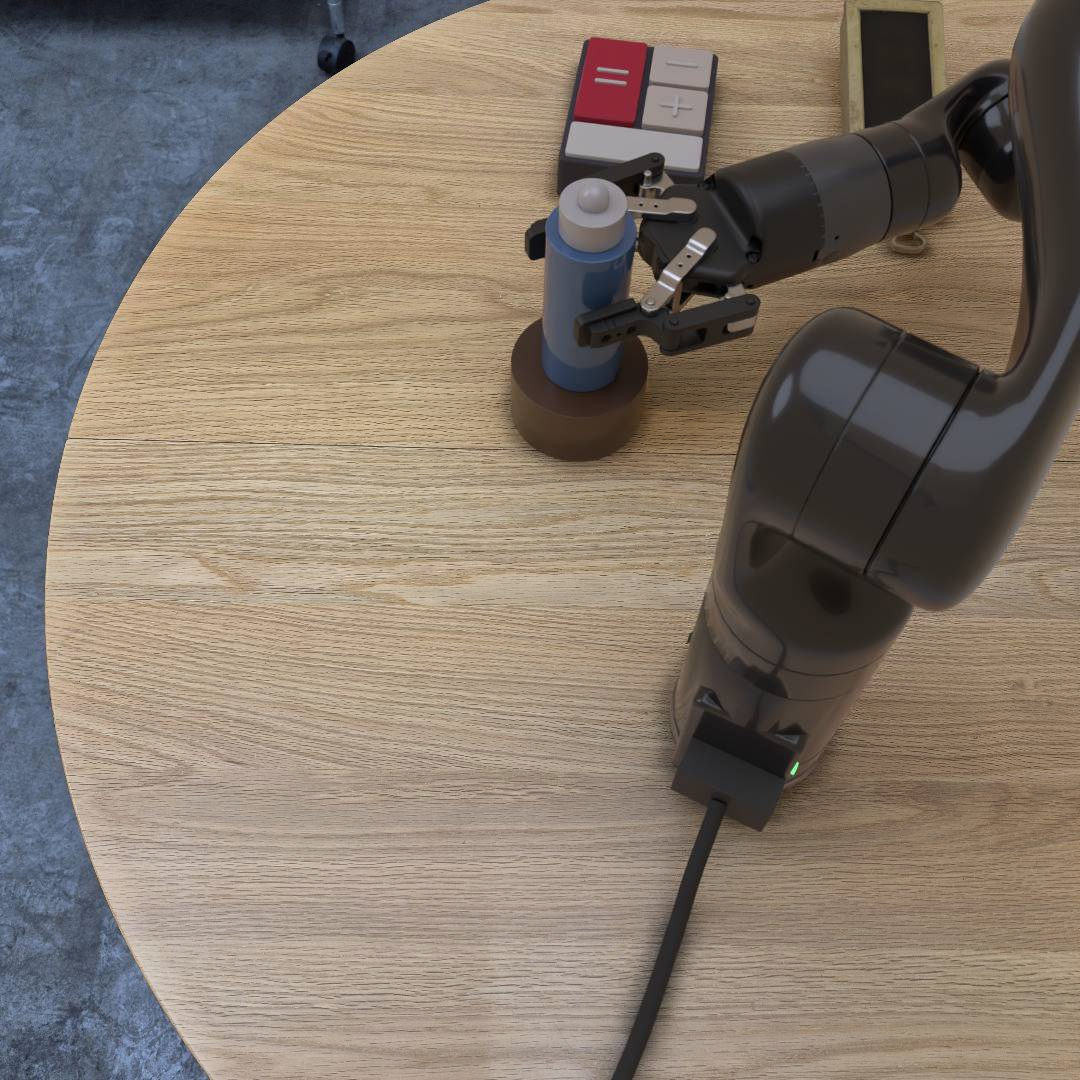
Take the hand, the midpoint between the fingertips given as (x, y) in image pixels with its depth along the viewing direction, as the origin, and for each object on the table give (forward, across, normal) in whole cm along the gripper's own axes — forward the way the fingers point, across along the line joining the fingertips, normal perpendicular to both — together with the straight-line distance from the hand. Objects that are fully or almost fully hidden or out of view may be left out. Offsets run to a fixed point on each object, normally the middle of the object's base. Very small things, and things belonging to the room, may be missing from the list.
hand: (551, 288), depth 71 cm
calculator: (-18, -22, +13) cm, 31 cm away
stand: (-2, 0, +13) cm, 13 cm away
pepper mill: (-2, 0, +8) cm, 8 cm away
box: (-35, -14, +13) cm, 40 cm away
